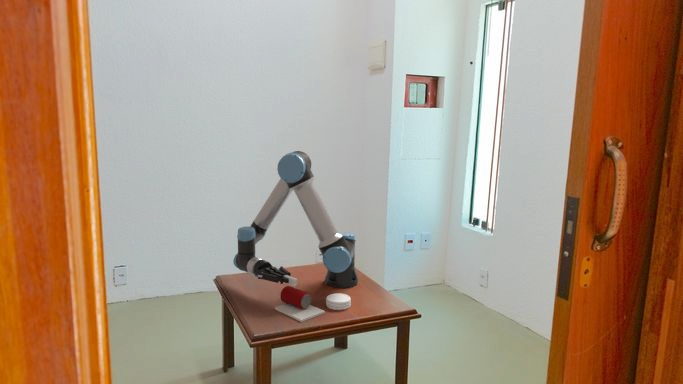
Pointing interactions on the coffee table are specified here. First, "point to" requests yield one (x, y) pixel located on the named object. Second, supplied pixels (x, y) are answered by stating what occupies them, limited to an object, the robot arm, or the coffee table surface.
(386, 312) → the coffee table surface
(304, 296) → the beverage can
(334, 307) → the coaster
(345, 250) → the robot arm
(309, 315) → the mat
